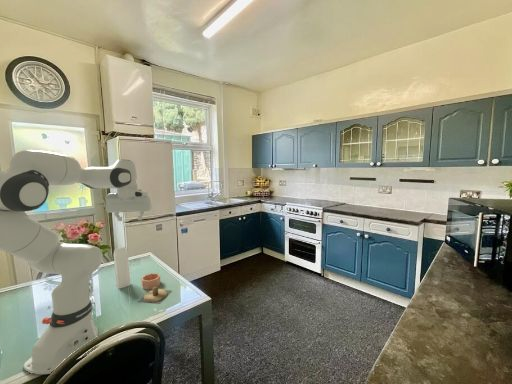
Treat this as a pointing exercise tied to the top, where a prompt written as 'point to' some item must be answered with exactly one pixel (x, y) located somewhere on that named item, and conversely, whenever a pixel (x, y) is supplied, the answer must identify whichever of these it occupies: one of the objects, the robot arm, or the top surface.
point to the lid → (155, 295)
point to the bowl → (150, 281)
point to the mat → (157, 301)
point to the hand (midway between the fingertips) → (130, 220)
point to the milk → (121, 267)
